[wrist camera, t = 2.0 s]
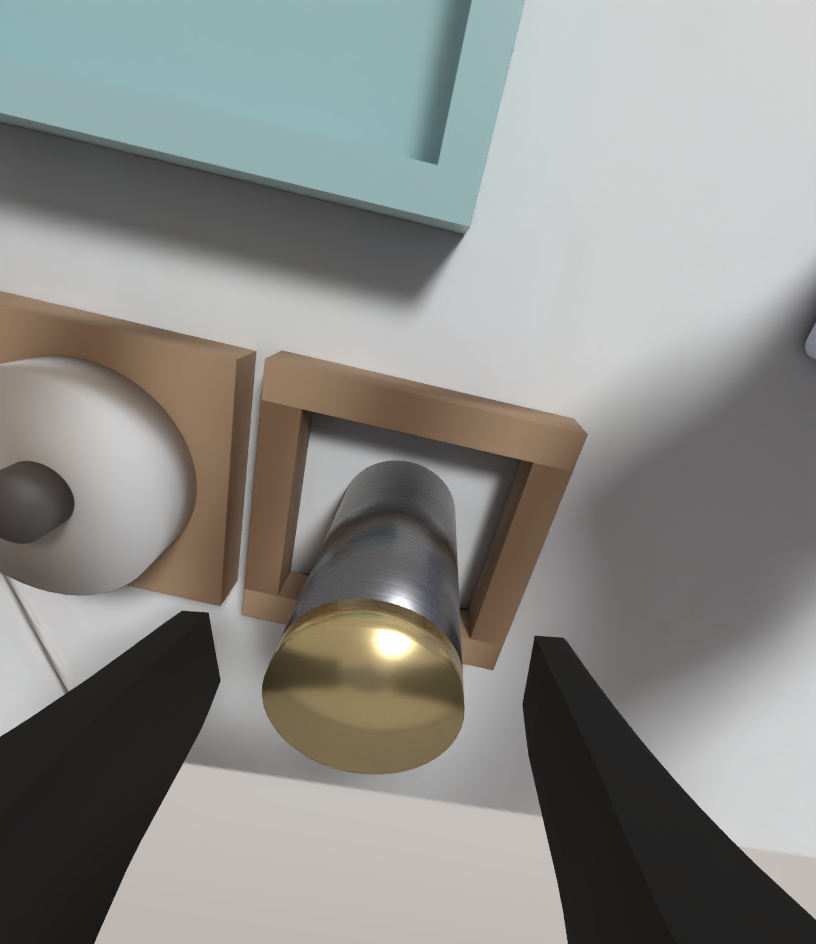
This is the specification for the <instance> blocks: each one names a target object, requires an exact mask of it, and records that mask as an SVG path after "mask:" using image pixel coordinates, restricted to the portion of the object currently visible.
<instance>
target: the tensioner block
mask: <svg viewBox="0 0 816 944" xmlns="http://www.w3.org/2000/svg"><path fill="white" fill-rule="evenodd" d="M255 360H256V351H254V350H249V349H245V348H241V347H236V346H232V345H228V344H224V343H219V342H215V341H211V340H206V339H202V338H198V337H194V336H189V335H185V334H181V333H177V332H172V331H168V330H164V329H159V328H155V327H151V326H147V325H142V324H138V323H134V322H129V321H125V320H121V319H117V318H112V317H108V316H104V315H100V314H95V313H91V312H87V311H82V310H78V309H74V308H70V307H65V306H61V305H57V304H52V303H48V302H44V301H40V300H35V299H31V298H27V297H23V296H18V295H14V294H10V293H5V292H1V291H0V572H1V573H3V574H5V575H7V576H9V577H11V578H13V579H15V580H17V581H19V582H21V583H24V584H27V585H29V586H32V587H35V588H38V589H42V590H45V591H49V592H54V593H59V594H65V595H95V594H101V593H106V592H109V591H113V590H116V589H119V588H121V587H123V586H125V585H128V586H133V587H137V588H142V589H146V590H151V591H155V592H160V593H164V594H169V595H174V596H178V597H183V598H187V599H192V600H196V601H201V602H205V603H210V604H214V605H219V606H221V604H222V603H223V601H224V600H225V598H226V597H227V595H228V594H229V592H230V591H231V589H232V588H233V586H234V585H235V583H236V582H237V579H238V567H239V555H240V543H241V530H242V518H243V506H244V494H245V482H246V470H247V457H248V445H249V433H250V421H251V409H252V396H253V384H254V372H255ZM312 412H317V413H321V414H325V415H330V416H334V417H338V418H343V419H347V420H351V421H356V422H360V423H364V424H369V425H373V426H377V427H382V428H386V429H390V430H395V431H399V432H403V433H408V434H412V435H416V436H421V437H425V438H429V439H433V440H438V441H442V442H446V443H451V444H455V445H459V446H464V447H468V448H472V449H477V450H481V451H485V452H490V453H494V454H498V455H503V456H507V457H511V458H516V459H520V462H519V465H518V468H517V470H516V473H515V476H514V479H513V482H512V485H511V488H510V491H509V494H508V497H507V499H506V502H505V505H504V508H503V511H502V514H501V517H500V520H499V523H498V525H497V528H496V531H495V534H494V537H493V540H492V543H491V546H490V549H489V552H488V554H487V557H486V560H485V563H484V566H483V569H482V572H481V575H480V578H479V580H478V583H477V586H476V589H475V592H474V595H473V598H472V601H471V604H470V607H469V609H468V611H467V610H463V609H460V627H461V648H462V663H463V664H467V665H472V666H476V667H481V668H485V669H490V670H493V669H494V667H495V664H496V662H497V659H498V657H499V654H500V652H501V649H502V647H503V644H504V642H505V639H506V637H507V634H508V632H509V629H510V627H511V624H512V622H513V619H514V617H515V614H516V612H517V609H518V607H519V604H520V602H521V599H522V597H523V594H524V592H525V589H526V587H527V584H528V582H529V579H530V577H531V574H532V572H533V569H534V567H535V564H536V562H537V559H538V557H539V554H540V552H541V549H542V547H543V544H544V542H545V539H546V537H547V534H548V532H549V529H550V527H551V524H552V522H553V519H554V517H555V514H556V512H557V509H558V507H559V504H560V502H561V500H562V497H563V495H564V492H565V490H566V487H567V485H568V482H569V480H570V477H571V475H572V472H573V470H574V467H575V465H576V462H577V460H578V457H579V455H580V452H581V450H582V447H583V445H584V442H585V440H586V437H587V435H588V434H587V433H586V432H585V431H584V430H583V429H582V427H581V426H580V425H579V424H578V423H577V422H576V421H575V419H572V418H568V417H563V416H559V415H555V414H551V413H546V412H542V411H538V410H534V409H529V408H525V407H521V406H516V405H512V404H508V403H504V402H499V401H495V400H491V399H487V398H482V397H478V396H474V395H469V394H465V393H461V392H457V391H452V390H448V389H444V388H440V387H435V386H431V385H427V384H422V383H418V382H414V381H410V380H405V379H401V378H397V377H393V376H388V375H384V374H380V373H375V372H371V371H367V370H363V369H358V368H354V367H350V366H346V365H341V364H337V363H333V362H328V361H324V360H320V359H316V358H311V357H307V356H303V355H299V354H294V353H290V352H286V351H280V352H278V353H276V354H274V355H272V356H270V357H268V358H266V359H265V365H264V376H263V387H262V398H261V409H260V420H259V431H258V442H257V453H256V465H255V476H254V487H253V498H252V509H251V520H250V531H249V542H248V553H247V564H246V575H245V586H244V597H243V608H242V615H245V616H249V617H254V618H258V619H263V620H267V621H272V622H276V623H281V624H286V625H287V624H288V621H289V619H290V617H291V615H292V612H293V610H294V608H295V606H296V603H297V601H298V599H299V597H300V594H301V592H302V590H303V587H304V585H305V583H306V581H307V578H308V576H309V575H306V574H301V573H297V572H292V571H291V563H292V556H293V549H294V542H295V535H296V527H297V520H298V513H299V506H300V499H301V491H302V484H303V477H304V470H305V462H306V455H307V448H308V441H309V434H310V426H311V419H312Z"/></svg>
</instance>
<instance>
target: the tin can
mask: <svg viewBox="0 0 816 944" xmlns="http://www.w3.org/2000/svg"><path fill="white" fill-rule="evenodd" d="M262 698H263V704H264V707H265V711H266V714H267V716H268V718H269V720H270V722H271V723H272V725H273V726H274V728H275V729H276V731H277V732H278V733H279V734H280V735H281V736H282V737H283V739H284V740H285V741H287V742H288V743H289V744H290V745H291V746H292V747H294V748H295V749H296V750H298V751H299V752H301V753H302V754H304V755H306V756H307V757H309V758H311V759H313V760H315V761H317V762H319V763H321V764H324V765H327V766H330V767H332V768H336V769H339V770H343V771H348V772H354V773H361V774H390V773H397V772H402V771H407V770H410V769H414V768H417V767H419V766H422V765H424V764H426V763H428V762H430V761H432V760H433V759H435V758H437V757H438V756H439V755H441V754H442V753H443V752H445V751H446V750H447V749H448V748H449V747H450V746H451V744H452V743H453V742H454V740H455V739H456V737H457V736H458V734H459V732H460V730H461V727H462V723H463V720H464V690H463V669H462V648H461V627H460V606H459V585H458V564H457V543H456V522H455V506H454V501H453V498H452V495H451V493H450V491H449V489H448V488H447V486H446V485H445V483H444V482H443V481H442V480H441V479H440V478H439V477H438V476H437V475H436V474H434V473H433V472H432V471H430V470H429V469H427V468H425V467H423V466H421V465H418V464H415V463H412V462H407V461H386V462H381V463H378V464H375V465H372V466H370V467H368V468H366V469H365V470H363V471H362V472H360V473H359V474H358V475H357V476H356V477H355V478H354V479H353V480H352V482H351V483H350V485H349V486H348V488H347V490H346V492H345V495H344V497H343V499H342V502H341V504H340V506H339V508H338V511H337V513H336V515H335V517H334V520H333V522H332V524H331V526H330V529H329V531H328V533H327V535H326V538H325V540H324V542H323V545H322V547H321V549H320V551H319V554H318V556H317V558H316V560H315V563H314V565H313V567H312V569H311V572H310V574H309V576H308V578H307V581H306V583H305V585H304V587H303V590H302V592H301V594H300V597H299V599H298V601H297V603H296V606H295V608H294V610H293V612H292V615H291V617H290V619H289V621H288V624H287V626H286V628H285V630H284V633H283V635H282V637H281V640H280V642H279V644H278V646H277V649H276V651H275V653H274V655H273V658H272V660H271V662H270V664H269V667H268V669H267V671H266V674H265V676H264V681H263V685H262Z"/></svg>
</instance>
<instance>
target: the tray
mask: <svg viewBox="0 0 816 944" xmlns="http://www.w3.org/2000/svg"><path fill="white" fill-rule="evenodd" d="M524 2H525V0H0V122H2V123H6V124H11V125H15V126H19V127H23V128H27V129H31V130H35V131H40V132H44V133H48V134H52V135H56V136H60V137H64V138H68V139H73V140H77V141H81V142H85V143H89V144H93V145H97V146H101V147H106V148H110V149H114V150H118V151H122V152H126V153H130V154H135V155H139V156H143V157H147V158H151V159H155V160H159V161H163V162H168V163H172V164H176V165H180V166H184V167H188V168H192V169H196V170H201V171H205V172H209V173H213V174H217V175H221V176H225V177H229V178H234V179H238V180H242V181H246V182H250V183H254V184H258V185H263V186H267V187H271V188H275V189H279V190H283V191H287V192H291V193H296V194H300V195H304V196H308V197H312V198H316V199H320V200H324V201H329V202H333V203H337V204H341V205H345V206H349V207H353V208H358V209H362V210H366V211H370V212H374V213H378V214H382V215H386V216H391V217H395V218H399V219H403V220H407V221H411V222H415V223H419V224H424V225H428V226H432V227H436V228H440V229H444V230H448V231H452V232H457V233H461V234H466V233H467V231H468V229H469V228H470V225H471V221H472V217H473V213H474V208H475V204H476V200H477V196H478V192H479V188H480V184H481V180H482V176H483V171H484V167H485V163H486V159H487V155H488V151H489V147H490V143H491V138H492V134H493V130H494V126H495V122H496V118H497V114H498V110H499V105H500V101H501V97H502V93H503V89H504V85H505V81H506V77H507V72H508V68H509V64H510V60H511V56H512V52H513V48H514V44H515V39H516V35H517V31H518V27H519V23H520V19H521V15H522V11H523V6H524Z"/></svg>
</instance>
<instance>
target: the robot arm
mask: <svg viewBox="0 0 816 944" xmlns="http://www.w3.org/2000/svg"><path fill="white" fill-rule="evenodd" d="M805 351H806V353H807V354H808V356H809V357H811V358H813V359H816V323H815V325H814V327H813V329H812V330H811V332H810V334H809V336H808V338H807V341H806V343H805ZM219 683H220V675H219V669H218V664H217V658H216V652H215V647H214V641H213V635H212V630H211V624H210V618H209V613H205V612H191V611H181V612H180V613H178V614H177V615H175V616H174V617H172V618H171V619H169V620H168V621H167V622H165V623H164V624H163V625H161V626H160V627H158V628H157V629H156V630H154V631H153V632H152V633H150V634H149V635H148V636H146V637H145V638H143V639H142V640H141V641H139V642H138V643H137V644H135V645H134V646H133V647H131V648H130V649H129V650H127V651H126V652H124V653H123V654H122V655H120V656H119V657H117V658H116V659H115V660H113V661H112V662H111V663H109V664H108V665H106V666H105V667H104V668H102V669H101V670H99V671H98V672H97V673H95V674H94V675H93V676H91V677H90V678H88V679H87V680H86V681H84V682H83V683H81V684H80V685H78V686H77V687H75V688H74V689H72V690H71V691H69V692H68V693H66V694H65V695H63V696H62V697H60V698H59V699H57V700H56V701H54V702H53V703H51V704H50V705H48V706H47V707H46V708H44V709H43V710H41V711H40V712H38V713H37V714H35V715H34V716H32V717H31V718H29V719H28V720H26V721H25V722H23V723H21V724H20V725H18V726H17V727H15V728H14V729H12V730H10V731H9V732H7V733H5V734H4V735H2V736H1V737H0V944H94V943H95V940H96V938H97V936H98V933H99V931H100V929H101V926H102V924H103V922H104V920H105V917H106V915H107V913H108V910H109V908H110V906H111V904H112V901H113V899H114V897H115V895H116V892H117V890H118V888H119V886H120V883H121V881H122V879H123V877H124V874H125V872H126V870H127V868H128V866H129V864H130V862H131V860H132V858H133V856H134V854H135V852H136V850H137V848H138V846H139V844H140V842H141V840H142V838H143V836H144V834H145V832H146V831H147V829H148V827H149V825H150V823H151V821H152V820H153V817H154V816H155V814H156V812H157V810H158V808H159V807H160V805H161V803H162V801H163V799H164V797H165V796H166V794H167V792H168V790H169V788H170V786H171V784H172V783H173V781H174V779H175V777H176V775H177V773H178V772H179V770H180V768H181V766H182V764H183V762H184V760H185V759H186V757H187V755H188V753H189V751H190V749H191V747H192V745H193V744H194V742H195V740H196V738H197V736H198V734H199V732H200V730H201V728H202V726H203V724H204V721H205V719H206V716H207V714H208V712H209V709H210V707H211V704H212V702H213V699H214V696H215V694H216V691H217V689H218V686H219ZM523 713H524V722H525V731H526V738H527V746H528V754H529V759H530V764H531V768H532V773H533V777H534V781H535V786H536V790H537V795H538V799H539V804H540V808H541V812H542V817H543V821H544V825H545V830H546V834H547V838H548V843H549V847H550V851H551V856H552V860H553V865H554V869H555V873H556V878H557V882H558V888H559V892H560V898H561V903H562V908H563V913H564V920H565V927H566V934H567V940H568V944H816V920H815V919H814V918H813V917H812V916H811V915H810V914H809V913H808V912H807V911H806V910H805V909H803V908H802V907H801V906H800V905H799V904H798V903H797V902H796V901H795V900H794V899H793V898H792V897H790V896H789V895H788V894H787V893H786V892H785V891H784V890H783V889H782V888H781V887H780V886H779V885H777V884H776V883H775V882H774V881H773V880H772V879H771V878H770V877H769V876H768V875H767V874H766V873H765V872H763V871H762V870H761V869H760V868H759V867H758V866H757V865H756V864H755V863H754V862H753V861H752V860H751V859H750V858H749V857H748V856H747V855H746V854H745V853H744V852H743V851H742V850H741V849H740V848H739V847H738V846H737V845H736V844H735V843H734V842H733V841H732V840H731V839H730V838H729V837H728V836H727V835H726V834H725V833H724V832H723V831H722V830H721V829H720V828H719V827H718V826H717V825H716V824H715V823H714V822H713V821H712V820H711V819H710V817H709V816H708V815H707V814H706V813H705V812H704V811H703V810H702V809H701V808H700V807H699V806H698V805H697V804H696V803H695V802H694V800H693V799H692V798H691V797H690V796H689V795H688V794H687V793H686V792H685V791H684V789H683V788H682V787H681V786H680V785H679V784H678V783H677V782H676V781H675V779H674V778H673V777H672V776H671V775H670V774H669V773H668V771H667V770H666V769H665V768H664V767H663V766H662V764H661V763H660V762H659V761H658V760H657V759H656V757H655V756H654V755H653V754H652V753H651V752H650V750H649V749H648V748H647V747H646V745H645V744H644V743H643V742H642V741H641V739H640V738H639V737H638V736H637V735H636V733H635V732H634V731H633V729H632V728H631V727H630V726H629V724H628V723H627V722H626V721H625V719H624V718H623V717H622V716H621V714H620V713H619V712H618V710H617V709H616V708H615V707H614V705H613V704H612V703H611V701H610V700H609V699H608V697H607V696H606V695H605V694H604V692H603V691H602V689H601V688H600V687H599V685H598V684H597V683H596V681H595V680H594V679H593V677H592V676H591V674H590V673H589V672H588V670H587V669H586V668H585V666H584V665H583V663H582V662H581V661H580V659H579V658H578V656H577V655H576V653H575V652H574V651H573V649H572V648H571V646H570V645H569V644H568V642H567V641H566V640H565V639H564V638H558V637H544V636H535V638H534V644H533V649H532V655H531V660H530V666H529V671H528V677H527V682H526V688H525V694H524V699H523Z"/></svg>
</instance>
